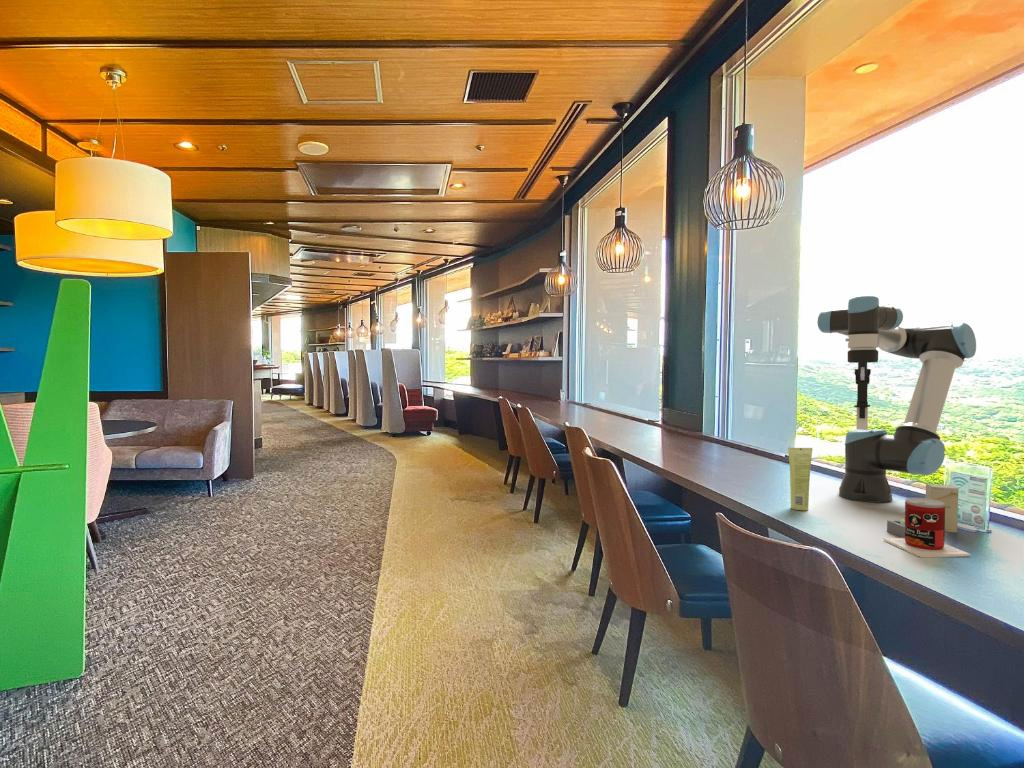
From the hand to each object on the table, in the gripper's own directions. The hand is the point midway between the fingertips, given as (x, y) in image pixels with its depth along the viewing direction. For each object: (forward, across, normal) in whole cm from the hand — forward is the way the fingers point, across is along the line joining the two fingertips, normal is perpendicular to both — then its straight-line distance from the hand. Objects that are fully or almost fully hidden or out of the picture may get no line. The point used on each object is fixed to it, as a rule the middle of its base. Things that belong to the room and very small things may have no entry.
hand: (861, 429), depth 157 cm
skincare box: (+27, +2, +18) cm, 32 cm away
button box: (+26, +12, +11) cm, 31 cm away
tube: (+27, -2, -16) cm, 31 cm away
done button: (+26, +12, +11) cm, 30 cm away
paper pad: (+26, +22, +13) cm, 37 cm away
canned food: (+26, +22, +13) cm, 37 cm away
